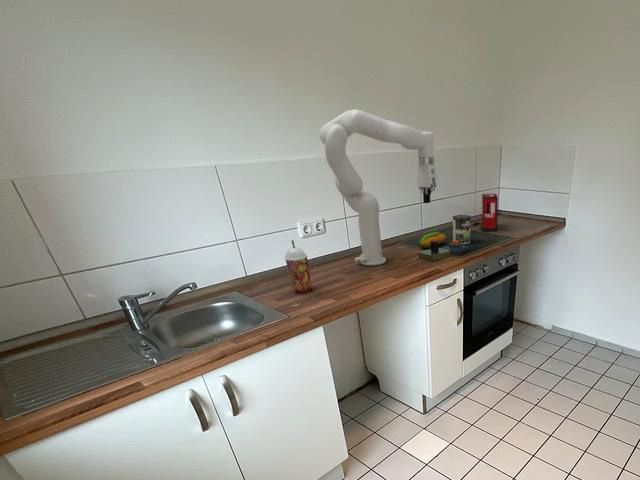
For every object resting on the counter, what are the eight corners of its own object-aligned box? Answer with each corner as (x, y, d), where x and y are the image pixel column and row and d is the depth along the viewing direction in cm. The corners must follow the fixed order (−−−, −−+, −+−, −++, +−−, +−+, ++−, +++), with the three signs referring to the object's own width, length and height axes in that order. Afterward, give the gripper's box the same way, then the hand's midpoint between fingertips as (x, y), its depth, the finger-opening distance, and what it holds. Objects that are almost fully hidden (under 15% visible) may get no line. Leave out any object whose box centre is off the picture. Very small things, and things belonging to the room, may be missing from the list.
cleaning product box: (496, 231, 244) (497, 197, 234) (482, 231, 244) (483, 197, 234) (494, 225, 258) (496, 193, 248) (481, 226, 258) (482, 194, 248)
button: (455, 245, 200) (455, 242, 199) (450, 244, 202) (450, 241, 202) (460, 244, 202) (460, 240, 202) (455, 243, 205) (455, 239, 204)
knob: (440, 251, 194) (440, 240, 191) (434, 252, 191) (434, 241, 188) (434, 249, 196) (434, 239, 193) (429, 251, 194) (428, 240, 191)
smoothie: (289, 290, 157) (277, 240, 147) (308, 285, 162) (297, 236, 152) (298, 295, 152) (286, 244, 142) (317, 289, 157) (307, 240, 147)
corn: (415, 234, 206) (440, 227, 219) (415, 248, 210) (439, 241, 223) (425, 237, 202) (450, 230, 215) (425, 251, 206) (449, 244, 219)
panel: (432, 261, 188) (432, 255, 187) (418, 258, 194) (418, 251, 193) (450, 256, 196) (450, 250, 194) (437, 252, 202) (437, 246, 201)
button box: (454, 254, 198) (454, 247, 196) (442, 251, 204) (441, 244, 202) (468, 250, 205) (468, 243, 203) (456, 247, 210) (456, 240, 208)
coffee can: (474, 242, 221) (474, 216, 213) (460, 245, 215) (460, 218, 208) (462, 239, 228) (462, 214, 220) (449, 242, 222) (448, 216, 215)
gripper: (442, 162, 181) (442, 203, 190) (421, 160, 190) (422, 200, 199) (430, 162, 176) (431, 205, 185) (409, 161, 185) (411, 202, 194)
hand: (426, 202), depth 192 cm, fingers closed
